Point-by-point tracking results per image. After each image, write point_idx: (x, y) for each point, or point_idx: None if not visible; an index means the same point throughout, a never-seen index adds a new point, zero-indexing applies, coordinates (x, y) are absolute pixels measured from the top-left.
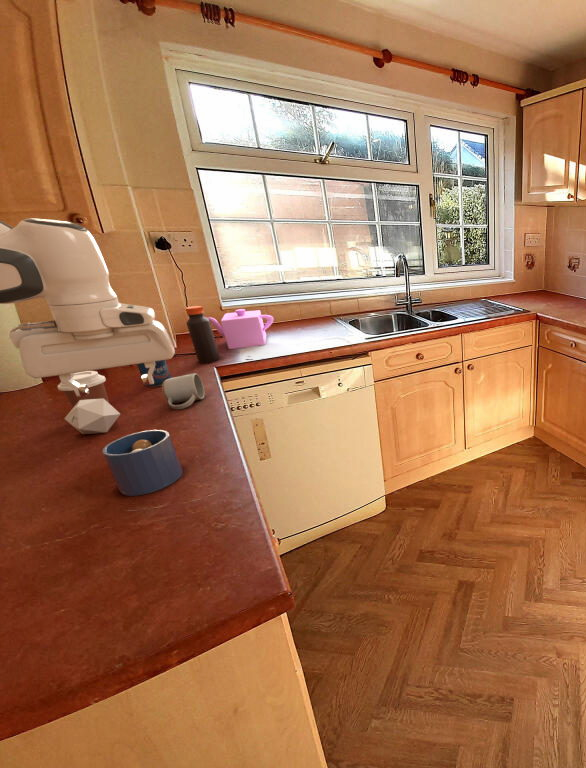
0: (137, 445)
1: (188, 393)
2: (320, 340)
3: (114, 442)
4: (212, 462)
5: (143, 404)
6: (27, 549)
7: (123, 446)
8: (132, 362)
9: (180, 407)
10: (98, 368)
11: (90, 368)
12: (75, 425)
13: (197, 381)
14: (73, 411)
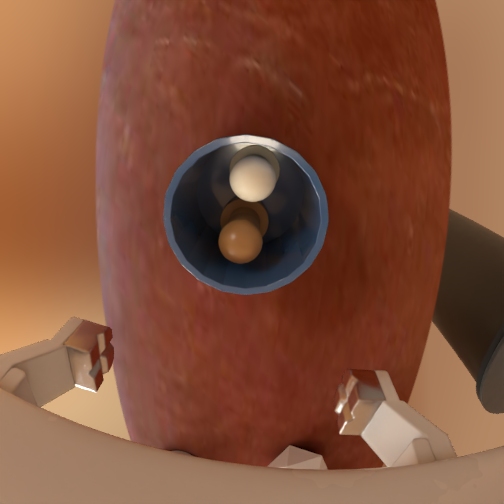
0: (248, 232)
1: None
2: None
3: (295, 269)
4: (137, 187)
5: None
6: (433, 101)
7: (278, 269)
8: (35, 417)
9: (183, 453)
10: (266, 471)
11: (318, 480)
12: (323, 463)
13: None
14: None
